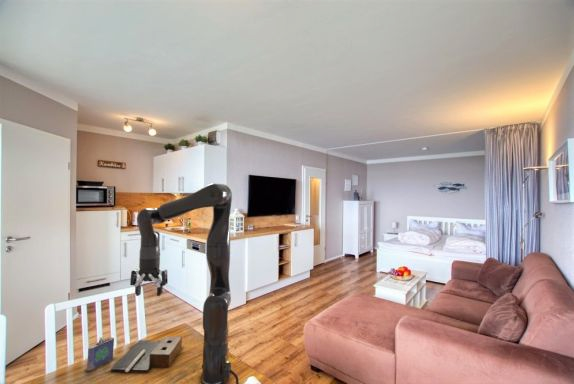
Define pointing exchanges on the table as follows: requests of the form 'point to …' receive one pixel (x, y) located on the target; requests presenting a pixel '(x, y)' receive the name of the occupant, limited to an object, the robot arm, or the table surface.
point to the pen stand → (165, 351)
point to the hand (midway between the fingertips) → (148, 295)
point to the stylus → (135, 360)
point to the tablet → (143, 362)
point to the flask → (100, 353)
